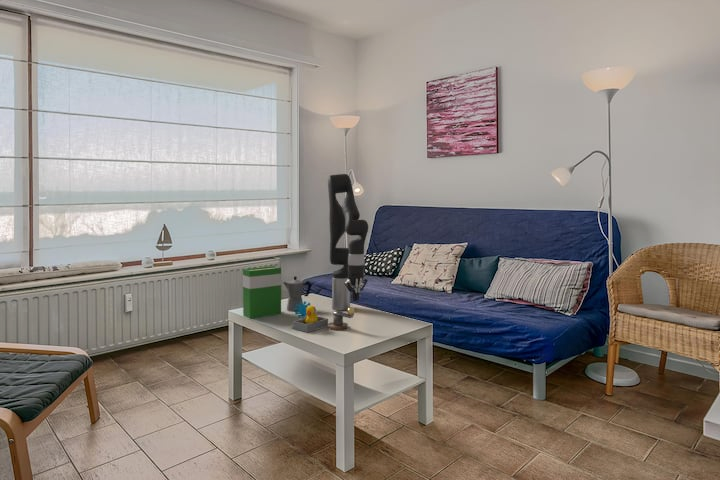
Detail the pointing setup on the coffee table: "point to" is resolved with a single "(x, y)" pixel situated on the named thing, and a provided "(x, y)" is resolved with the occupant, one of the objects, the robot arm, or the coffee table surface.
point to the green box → (261, 291)
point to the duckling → (311, 314)
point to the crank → (349, 315)
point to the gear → (301, 309)
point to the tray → (305, 327)
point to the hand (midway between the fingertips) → (355, 300)
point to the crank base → (337, 323)
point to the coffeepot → (295, 292)
